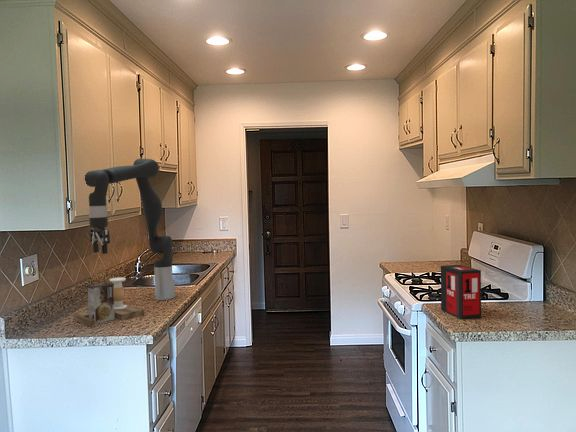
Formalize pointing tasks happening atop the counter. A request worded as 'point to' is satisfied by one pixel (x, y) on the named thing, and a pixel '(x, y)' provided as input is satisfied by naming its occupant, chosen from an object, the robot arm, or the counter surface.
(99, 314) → the coffee box
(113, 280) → the bobbin
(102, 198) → the robot arm
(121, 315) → the notched board
